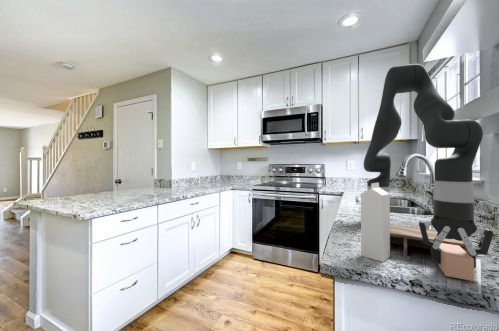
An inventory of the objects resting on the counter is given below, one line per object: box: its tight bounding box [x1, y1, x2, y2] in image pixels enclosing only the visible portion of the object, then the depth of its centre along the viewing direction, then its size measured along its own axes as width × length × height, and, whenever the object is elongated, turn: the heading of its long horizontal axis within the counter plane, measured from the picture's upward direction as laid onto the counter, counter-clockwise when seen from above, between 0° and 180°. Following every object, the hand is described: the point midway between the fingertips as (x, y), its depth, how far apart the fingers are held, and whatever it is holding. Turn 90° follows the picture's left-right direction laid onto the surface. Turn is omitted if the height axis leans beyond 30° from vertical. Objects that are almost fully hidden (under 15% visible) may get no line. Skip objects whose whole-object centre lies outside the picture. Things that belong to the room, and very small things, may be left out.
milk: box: [360, 183, 391, 263], centre depth 65 cm, size 6×6×22 cm
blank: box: [437, 243, 475, 282], centre depth 55 cm, size 10×5×5 cm, turn 151°
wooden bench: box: [390, 223, 468, 263], centre depth 68 cm, size 12×21×6 cm, turn 54°
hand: (452, 265), depth 55 cm, fingers closed on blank, 5 cm apart
